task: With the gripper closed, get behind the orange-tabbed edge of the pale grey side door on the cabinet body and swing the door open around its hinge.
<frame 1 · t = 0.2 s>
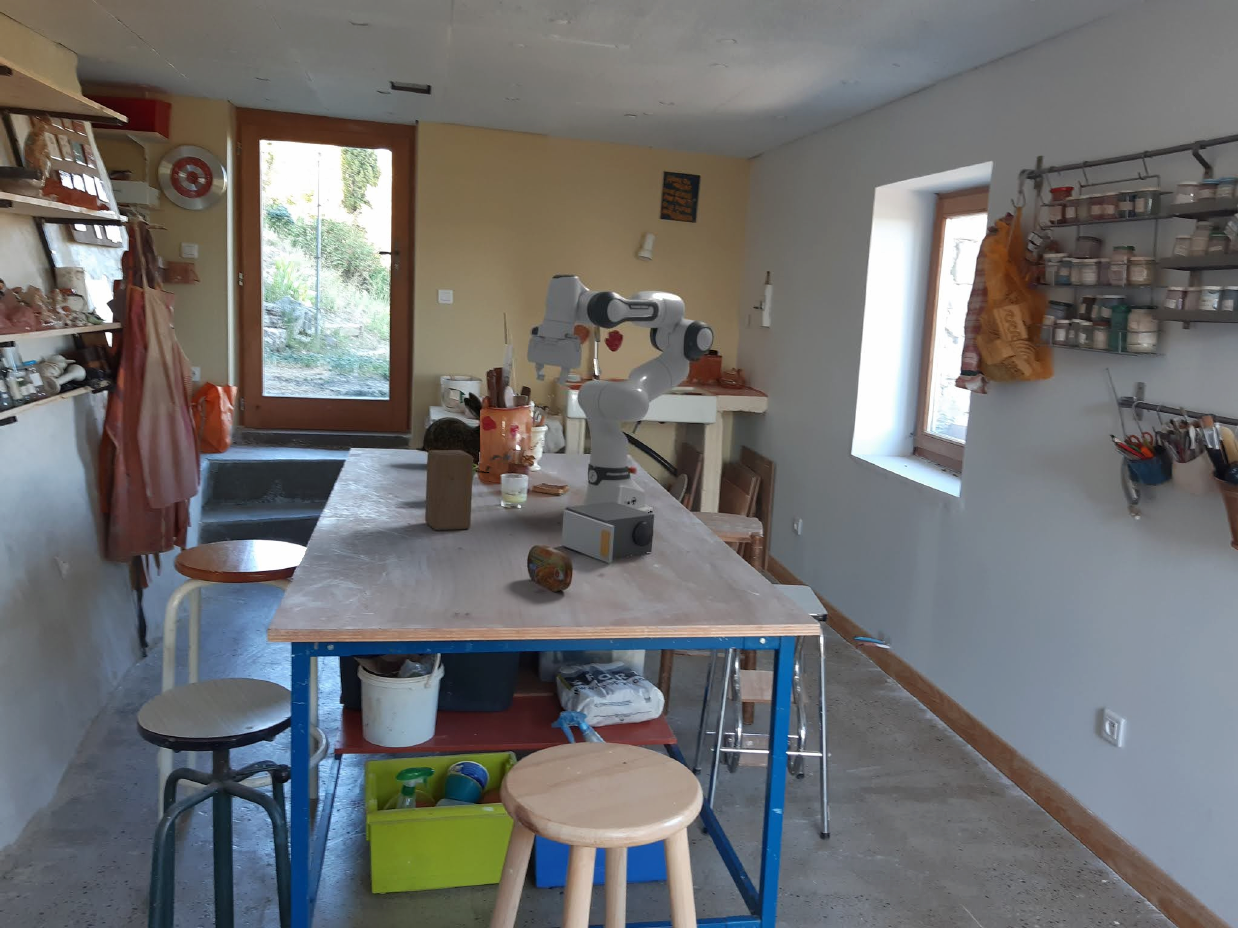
hand: (550, 382, 263), 39 cm above the table, tool pointing down, fingers open, 8 cm apart
plant pot: (456, 502, 284), on the table
door: (586, 535, 233), point 5 cm above the table, hinge at 0.0°
sculpture: (461, 469, 339), on the table
cabinet body: (607, 549, 242), on the table
tin: (548, 586, 208), on the table
wooden block: (447, 526, 254), on the table
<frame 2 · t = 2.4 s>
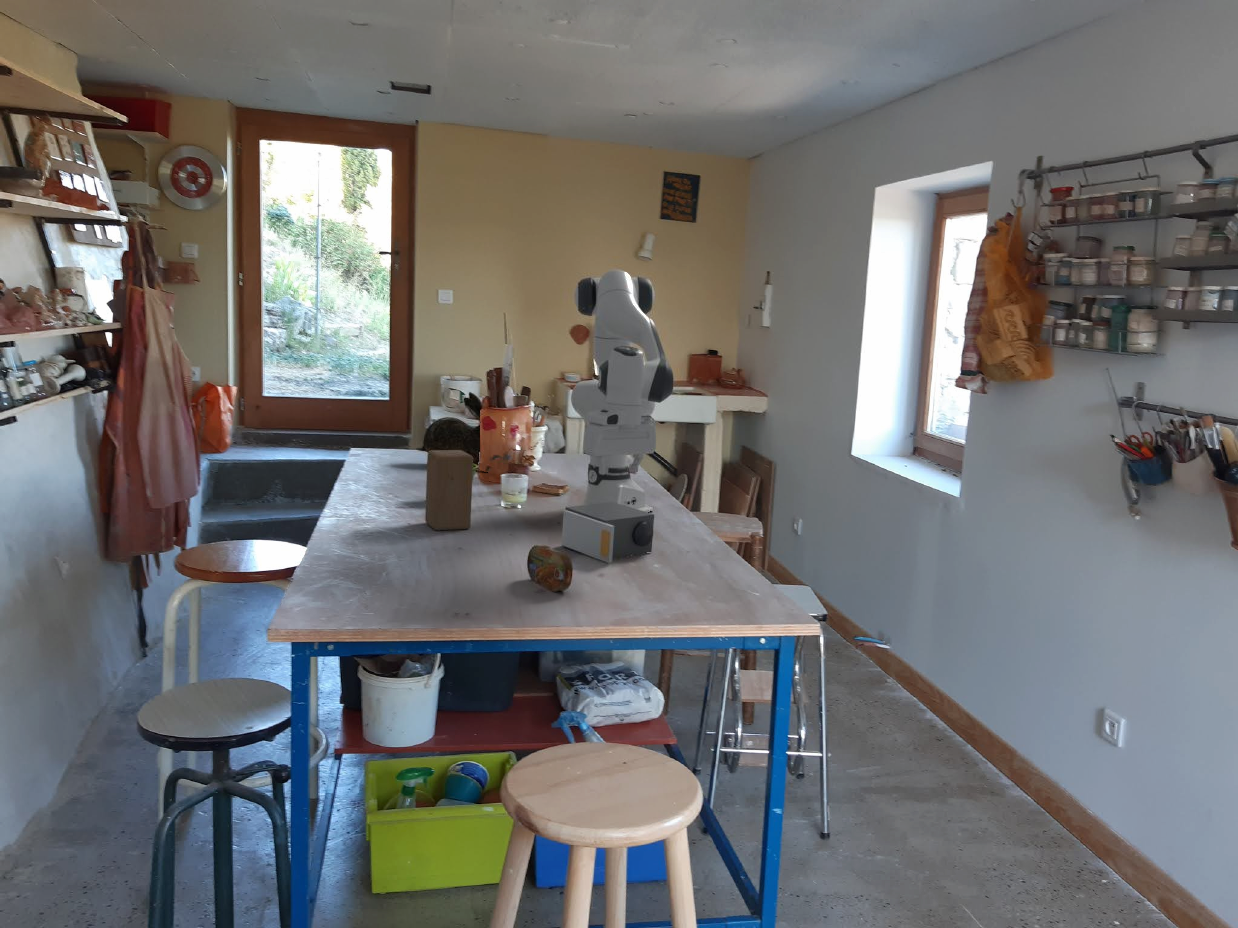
hand: (618, 473, 227), 22 cm above the table, tool pointing down, fingers open, 8 cm apart
nothing on the table moved.
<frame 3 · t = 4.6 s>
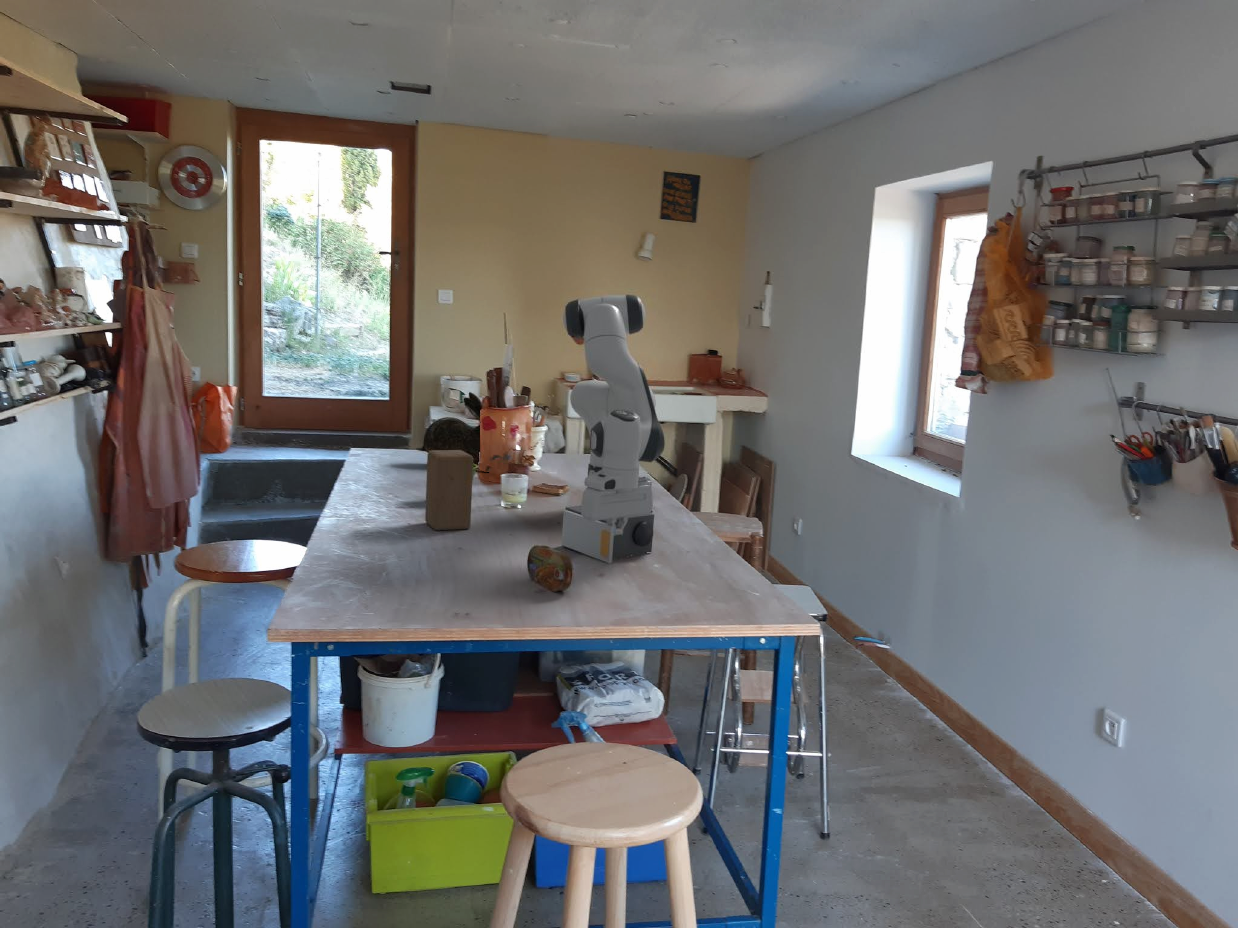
hand: (616, 535, 229), 7 cm above the table, tool pointing down, fingers closed
door: (586, 535, 233), point 5 cm above the table, hinge at 0.1°, touching gripper
everything else where it was.
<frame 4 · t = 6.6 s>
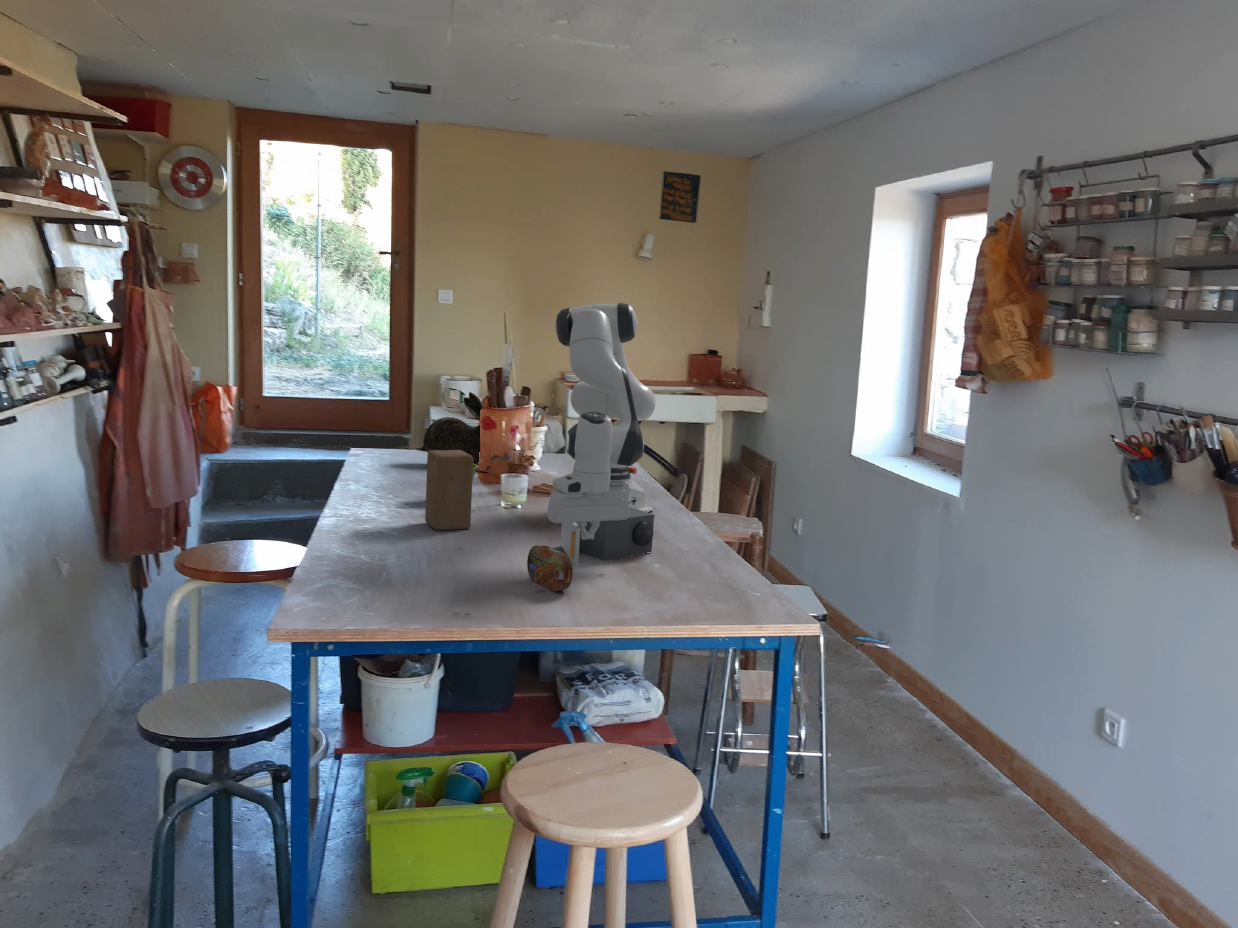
hand: (587, 539, 225), 6 cm above the table, tool pointing down, fingers closed
door: (568, 536, 231), point 5 cm above the table, hinge at 27.6°, touching gripper
everything else where it was.
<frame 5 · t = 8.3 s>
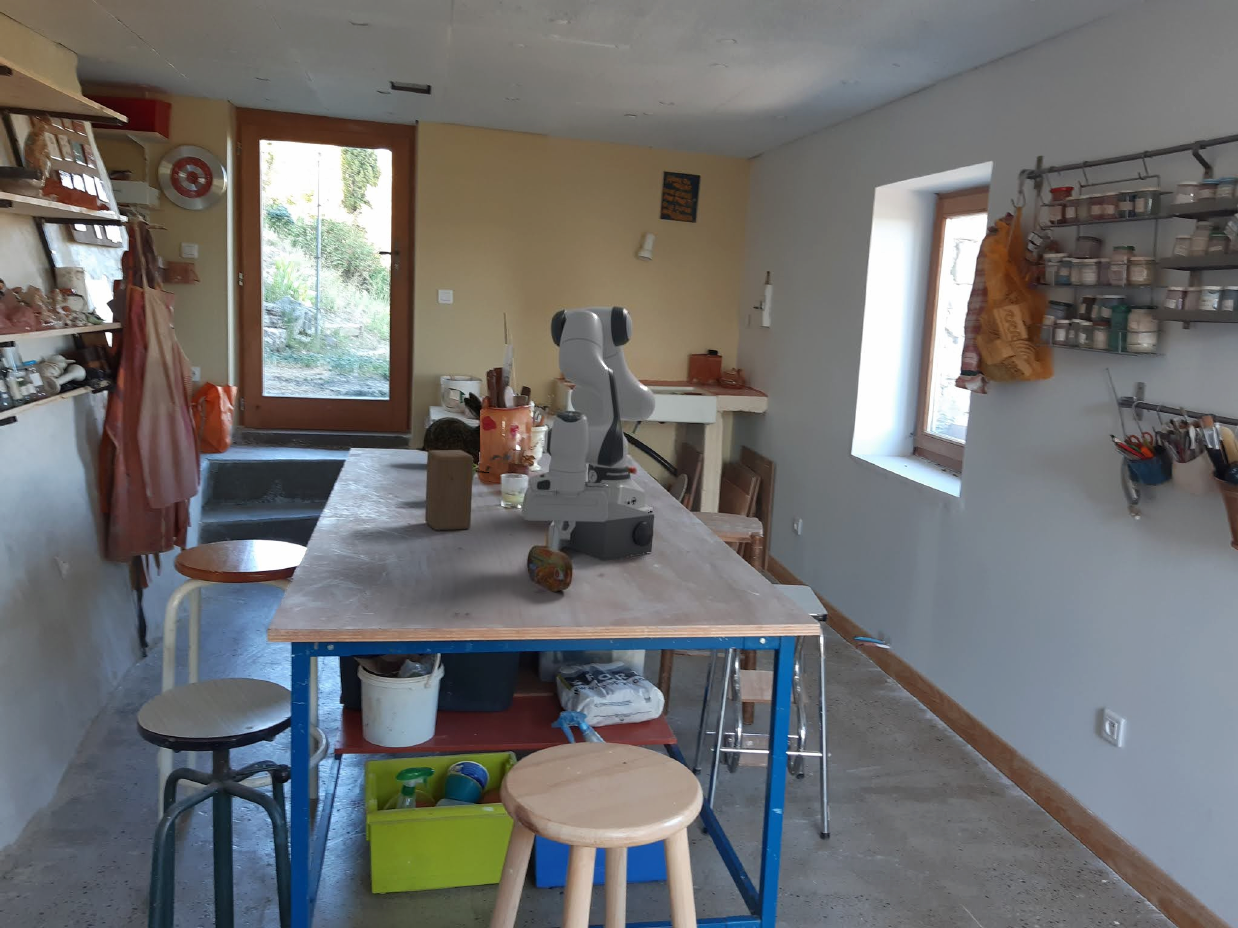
hand: (563, 539, 223), 6 cm above the table, tool pointing down, fingers closed
door: (555, 535, 231), point 5 cm above the table, hinge at 46.8°, touching gripper
everything else where it was.
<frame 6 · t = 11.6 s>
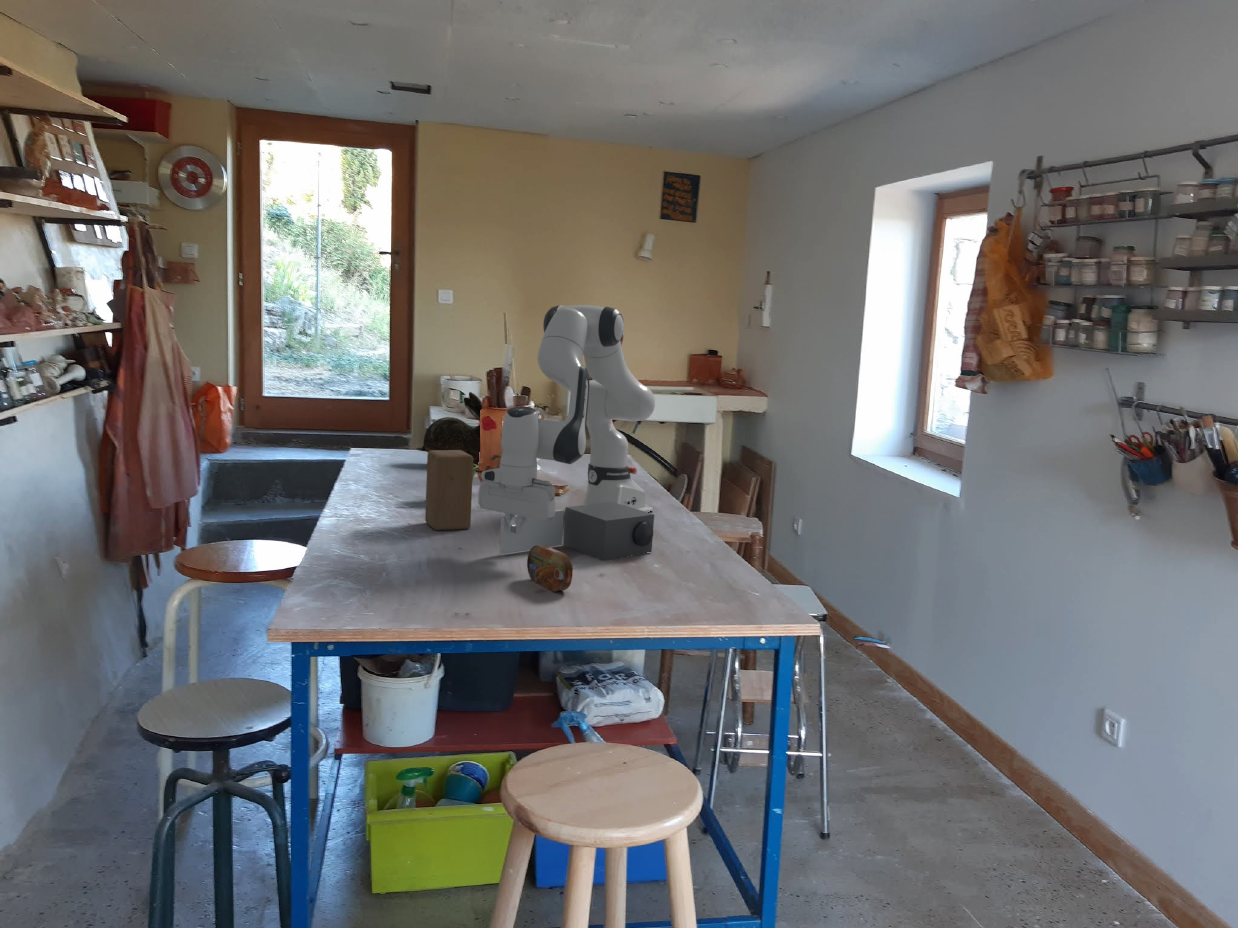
hand: (515, 532, 227), 6 cm above the table, tool pointing down, fingers closed
door: (531, 531, 234), point 5 cm above the table, hinge at 88.3°, touching gripper
everything else where it was.
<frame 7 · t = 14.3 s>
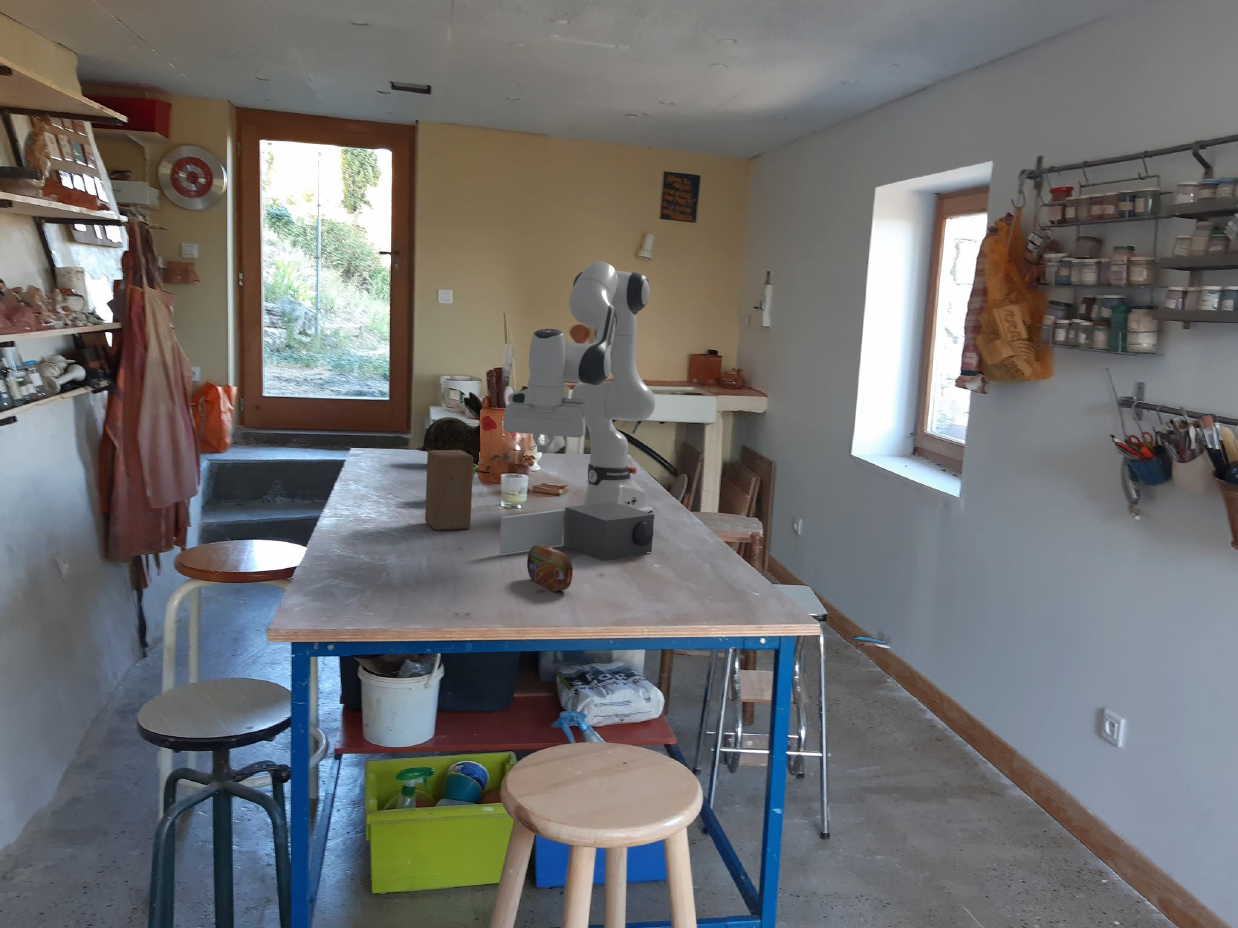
hand: (543, 452, 234), 24 cm above the table, tool pointing down, fingers closed
door: (531, 531, 234), point 5 cm above the table, hinge at 88.4°
everything else where it was.
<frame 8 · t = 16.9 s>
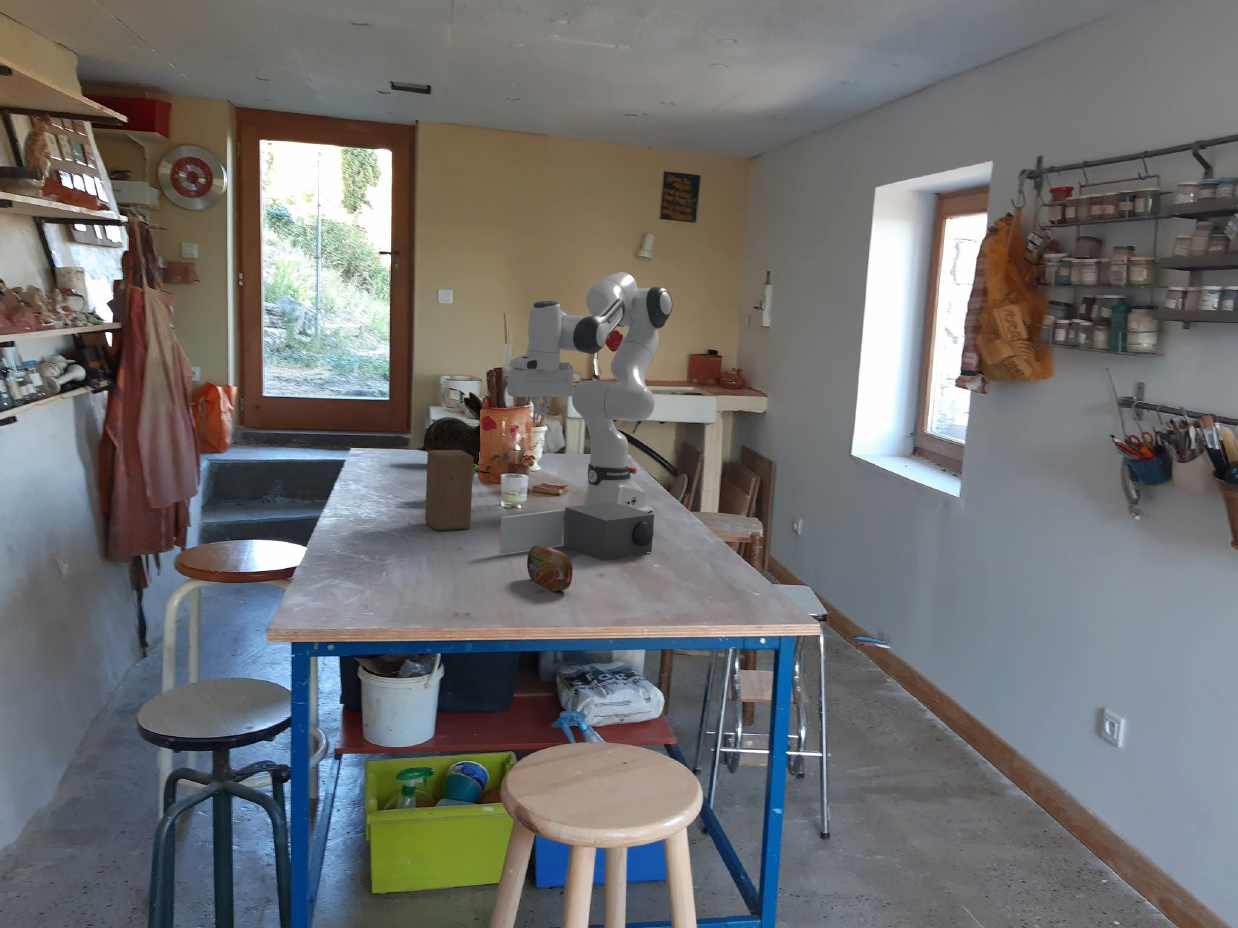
hand: (540, 413, 257), 31 cm above the table, tool pointing down, fingers closed
nothing on the table moved.
at the end: door at +88° (first picture: +0°); wooden block moved 0.2 cm from its start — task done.
